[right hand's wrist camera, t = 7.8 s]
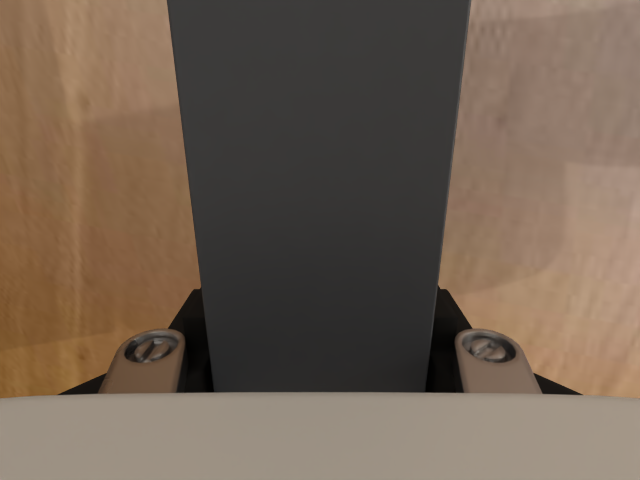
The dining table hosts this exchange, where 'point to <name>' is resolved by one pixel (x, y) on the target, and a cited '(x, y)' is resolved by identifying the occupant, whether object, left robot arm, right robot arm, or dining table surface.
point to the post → (319, 184)
